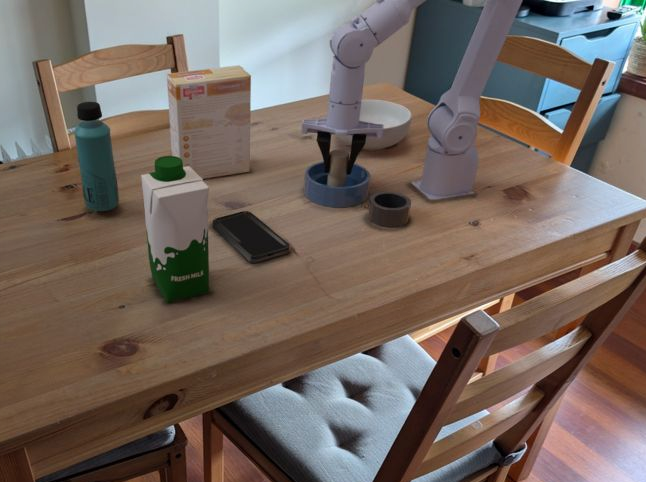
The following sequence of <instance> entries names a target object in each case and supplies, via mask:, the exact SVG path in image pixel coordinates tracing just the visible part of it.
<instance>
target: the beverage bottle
mask: <svg viewBox="0 0 646 482" xmlns="http://www.w3.org/2000/svg"><path fill="white" fill-rule="evenodd" d="M76 110H77V115H76V116H77V119H78V120H80V121H81V122H80V123H79V124H78V125H77V126H76V127H75V129H74V130H73V135H74V138H75V144H76V145H75V146H76V153H77V161H78V166H79V171H80V172H79V173H80V180H81V187H82V197H83V203H84V204H85V206H86V208H88V209H89V210H91V211H94V212H105V211H110V210H113V209H114V208H116V207H117V206H118V205H119V201H120V194H119V186H118V179H117V173H116V169H117V167H116V165H115V160H114V153H113V145H112V137H111V128H110V127H109V125H108V124H106V123H105V122H103V121H102V120H100V119H102V117H103V112H102V109H101V105H100V103H99V102H96V101H84V102H81V103H78V104H77V105H76Z"/></svg>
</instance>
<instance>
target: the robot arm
mask: <svg viewBox="0 0 646 482" xmlns="http://www.w3.org/2000/svg"><path fill="white" fill-rule="evenodd" d="M426 1H427V0H376V2H375V3H373V4H372V5H370V7H368V8H367V9H366V10H365V11H364V12H361V14H360V15H358V16H357V15H354V16H353V17H352V18H350V19H351V22H348V23H343V24H342V25H339V26H338V27H337V28H336V29H335V31H334V32H333V35H332V37H331V39H329V47H330V50H331V52H332V54H333V56H332V66H331V67H332V68H331V72H330V82H329V93H328V104H327V105H328V106H327V116H326V118H316V119H315V118H314V119H304V118H303V119H302V122H301V132H300V134H303V135H305V134H317V135H316V143H317V146H318V148H319V151H320V154H321V157H322V161H324V168H325V173H328V172H329V158H330V152H331V142H332V135H335V136H337V135H338V136H347V135H352V144H351V145H350V152H349V163H348V170H347V175H351V171H352V168H353V165H354V163H355V162H356V160H357V158H358V156H359V154H360V153H361V151H363V150H362V148H363V147H364V145H365V143H366V136H369V137H376V138H377V139H382V135H383V127H384V125H383V124H374V123H369V122H364V121H359V117H360V109H361V101H362V100H363V91H364V83H365V75H366V74H365V72H366V71H365V70H366V63H368V62H369V60H370V59H371V57H372V55H373V51H374V50H375V49H376V48H377V47H378V46H380V45H382V43H384V42H385V41H387V40H388V39H389V38H390V37H392V36H393V35H395V33H397V32H398V31H399V30H401V29H402V28H403V27H404V26H406V25H408V23H409V22H410V20H411V15H412V12H413V11H414V9H416V8H417V7H419V6H420V5H423V4H424V3H425V2H426ZM522 3H523V0H486V1H485V4H484V6H483V9H482V11H481V14H480V15H479V18H478V19H477V20H478V21H477V23H476V25H475V28H474V31H473V33H472V35H471V38H470V40H469V42H468V45H467V48H466V50H465V53H464V55H463V57H462V60H461V62H460V65H459V67H458V70H457V72H456V75H455V77H454V79H453V82H452V85H451V87H450V89H448V90H447V91H445V92H444V93H443V94H441V96H440V98H439V100H438V103H437V104H436V105H435V106H434V107H433V108H432V109H431V111H430V112H429V113H428V116H427V119H426V127H427V130H428V131H429V132H430V136H429V139H428V142H427V147H426V152H425V157H424V163H423V167H422V172H421V173H422V174H421V178H420V179H421V180H416V181H415V180H414V181H412V182H411V184H412V185H413V186H414V187H415V188H416V189H417V190H419V191H420V192H421V193H422V194H423V195H425V196H426V197H427V198H428V199H429V200H431V201H433V200H440V199H447V198H454V197H460V196H466V195H467V196H468V195H474V194H475V191H473V189H474V184H475V180H476V176H477V171H478V168H479V162H480V157H479V151H478V148H477V147H476V146H475V141H476V139H477V136H478V124H479V121H480V119H481V106H480V99H481V96H482V95H483V92H484V90H485V88H486V86H487V83H488V81H489V79H490V76H491V75H492V71H493V70H494V67H495V64H496V62H497V60H498V57H499V56H500V53H501V51H502V48H503V46H504V44H505V41H506V39H507V37H508V35H509V33H510V30H511V28H512V26H513V24H514V21H515V19H516V17H517V14H518V12H519V10H520V7H521V5H522ZM338 136H337V137H338ZM355 164H356V163H355Z"/></svg>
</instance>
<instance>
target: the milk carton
mask: <svg viewBox="0 0 646 482" xmlns="http://www.w3.org/2000/svg"><path fill="white" fill-rule="evenodd" d="M140 177H141V186H142V195H143V206H144V207H143V208H144V218H145V219H144V220H145V229H146V241H147V242H146V243H147V252H148V262H149V267H150V273H151V279H152V281H153V283H154V284H155V286H156V287H157V289H158V290H159V292H160V294H161V295H162V297H163V298H164V300H165V302H166V303H167V304H169V303H173V302H178V301H181V300H185V299H189V298H193V297H197V296H201V295H206V294H209V293H210V258H209V252H210V251H209V214H208V213H209V212H208V211H209V210H208V204H209V193H210V187H209V186H208V184H206V182H205V181H204V179H202V178H201V177H200V176H199V175H198V174H197V173H196V172H195V171H194V170H193V169H192V168H191V167H190V166H187V167H183V161H182V159H181V158H179V157H175V156H172V155H163V156H160V157H158V158H156V159H155V160H154V171H151V172H148V173H145V174H141V175H140Z"/></svg>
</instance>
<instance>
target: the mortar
mask: <svg viewBox="0 0 646 482" xmlns="http://www.w3.org/2000/svg"><path fill="white" fill-rule="evenodd" d="M411 208H412V200H411V199H410V197H408V196H407V195H405V194H403V193H400V192H396V191H377V192H375V193H373V194H372V195H371V196H370V197H369V201H368V209H367V219H368V221H369V222H370V223H372V224H373V225H375V226H378V227H382V228H389V229H392V228H393V229H394V228H400V227H404V226H405V225H407V223H408V222H409V219H410V214H411Z"/></svg>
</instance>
